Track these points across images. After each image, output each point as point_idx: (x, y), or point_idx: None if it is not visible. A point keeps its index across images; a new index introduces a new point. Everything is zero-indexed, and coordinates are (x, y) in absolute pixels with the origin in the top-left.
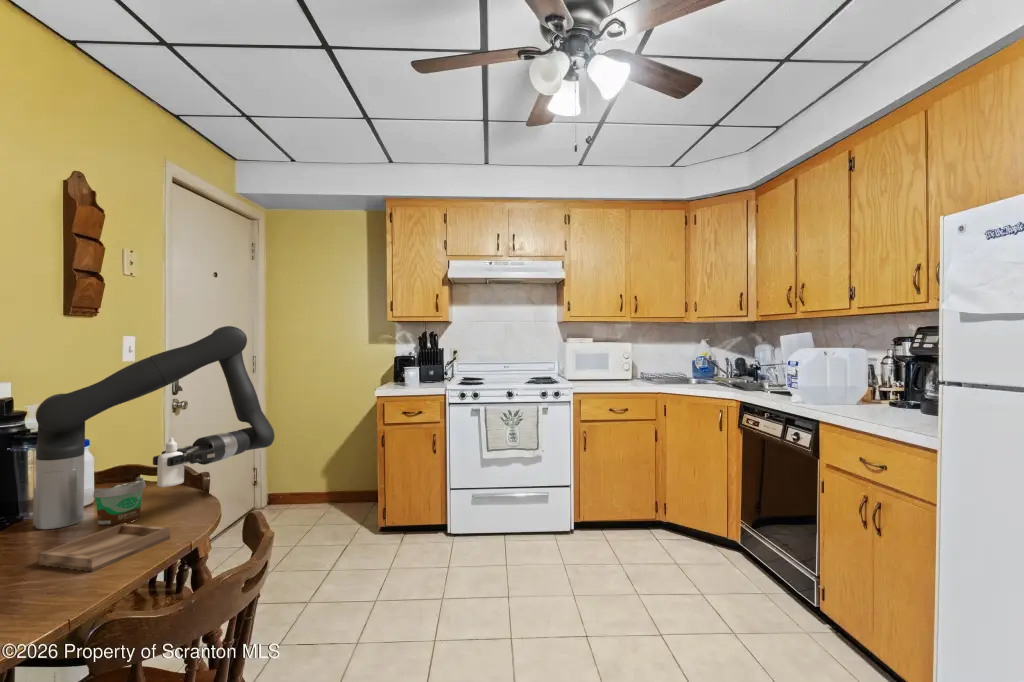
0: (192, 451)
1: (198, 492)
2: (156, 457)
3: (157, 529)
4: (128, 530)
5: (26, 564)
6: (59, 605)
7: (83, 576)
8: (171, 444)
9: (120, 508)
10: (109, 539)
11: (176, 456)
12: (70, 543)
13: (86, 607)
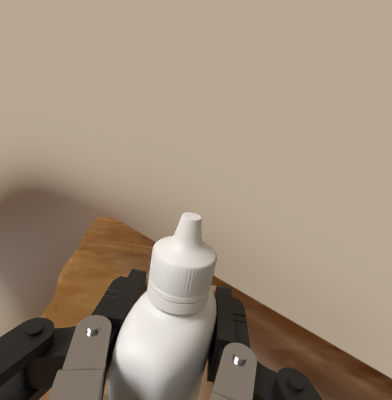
0: (56, 385)
1: None
2: (216, 289)
3: (107, 381)
4: None
5: (245, 305)
6: (113, 240)
7: None
8: (166, 238)
9: None
10: (205, 372)
11: (121, 290)
12: None
13: (85, 236)
